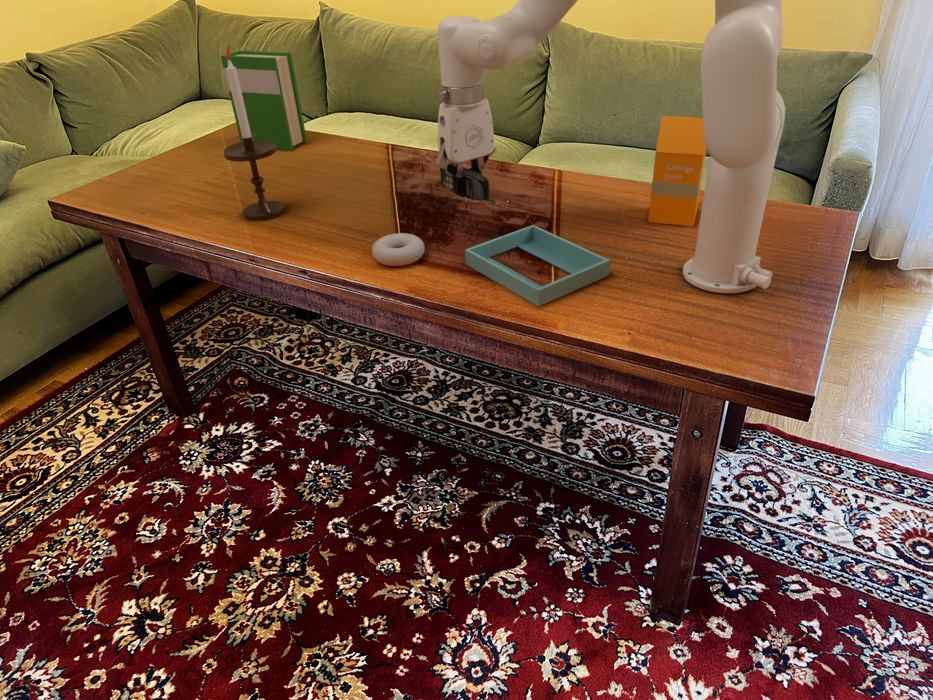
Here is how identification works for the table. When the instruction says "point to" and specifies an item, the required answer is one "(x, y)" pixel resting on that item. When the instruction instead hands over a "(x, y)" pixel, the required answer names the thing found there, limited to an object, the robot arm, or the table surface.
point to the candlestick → (250, 153)
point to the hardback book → (268, 96)
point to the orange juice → (677, 171)
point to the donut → (398, 249)
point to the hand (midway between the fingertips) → (467, 191)
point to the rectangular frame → (547, 248)
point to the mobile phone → (469, 184)
